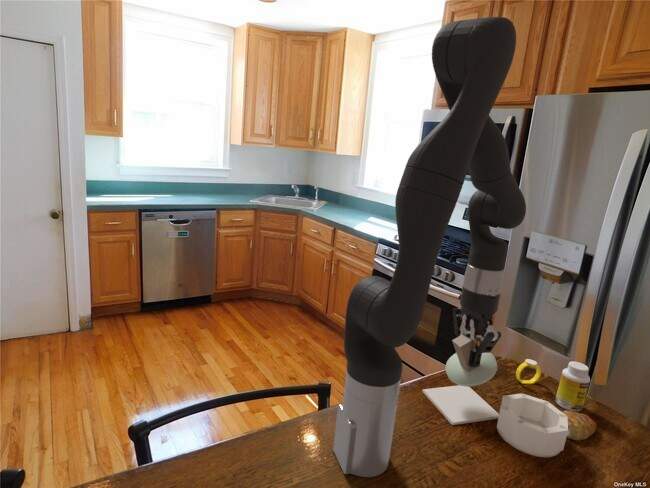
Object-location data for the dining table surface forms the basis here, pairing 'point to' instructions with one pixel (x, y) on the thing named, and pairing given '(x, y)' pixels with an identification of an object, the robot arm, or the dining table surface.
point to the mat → (460, 404)
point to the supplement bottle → (573, 387)
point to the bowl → (532, 425)
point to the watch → (527, 363)
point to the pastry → (579, 425)
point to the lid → (462, 371)
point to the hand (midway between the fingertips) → (468, 361)
